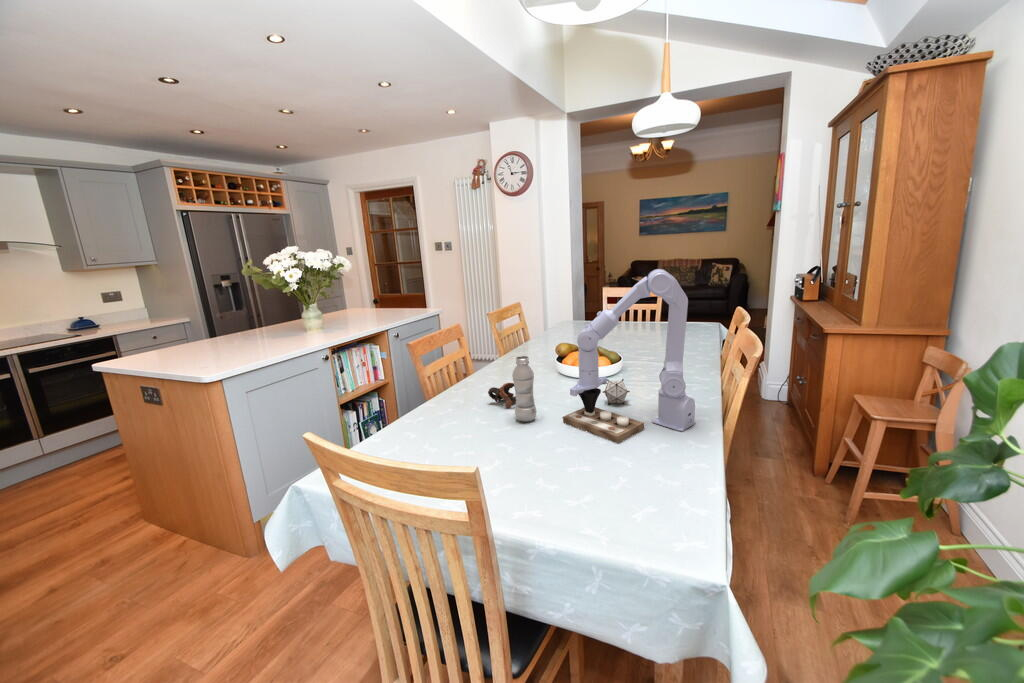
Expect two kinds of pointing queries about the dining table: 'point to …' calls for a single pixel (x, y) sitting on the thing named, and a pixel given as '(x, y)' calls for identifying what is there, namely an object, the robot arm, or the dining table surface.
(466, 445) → the dining table surface
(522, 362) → the plastic bottle
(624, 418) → the button
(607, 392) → the game die
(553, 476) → the dining table surface
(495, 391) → the dark brown twisted loops
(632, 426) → the button board
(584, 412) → the button
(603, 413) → the button middle
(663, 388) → the robot arm
